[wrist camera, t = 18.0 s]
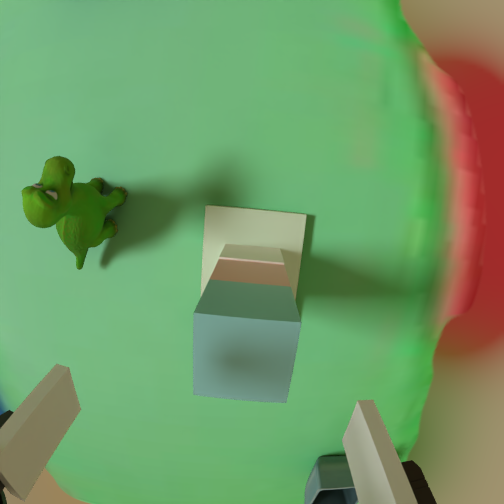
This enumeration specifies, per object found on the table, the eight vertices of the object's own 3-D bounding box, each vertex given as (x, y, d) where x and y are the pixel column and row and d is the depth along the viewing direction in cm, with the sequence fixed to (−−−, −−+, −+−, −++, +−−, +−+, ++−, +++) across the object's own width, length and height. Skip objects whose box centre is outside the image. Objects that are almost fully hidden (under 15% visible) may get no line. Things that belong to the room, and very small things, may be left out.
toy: (139, 169, 34) (67, 167, 19) (105, 273, 37) (37, 322, 22) (99, 153, 33) (19, 146, 19) (70, 255, 36) (-5, 292, 22)
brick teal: (209, 279, 23) (193, 312, 17) (290, 286, 23) (301, 322, 17) (206, 348, 24) (193, 394, 18) (280, 355, 24) (286, 403, 18)
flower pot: (359, 447, 43) (371, 485, 34) (343, 475, 45) (352, 510, 36) (311, 448, 43) (318, 489, 34) (299, 476, 45) (303, 513, 36)
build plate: (207, 204, 34) (194, 211, 28) (305, 213, 34) (316, 222, 28) (201, 319, 38) (190, 347, 31) (289, 327, 38) (296, 357, 31)
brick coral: (219, 258, 29) (209, 279, 23) (284, 264, 29) (290, 286, 23) (215, 317, 30) (206, 348, 24) (276, 323, 30) (280, 355, 24)
